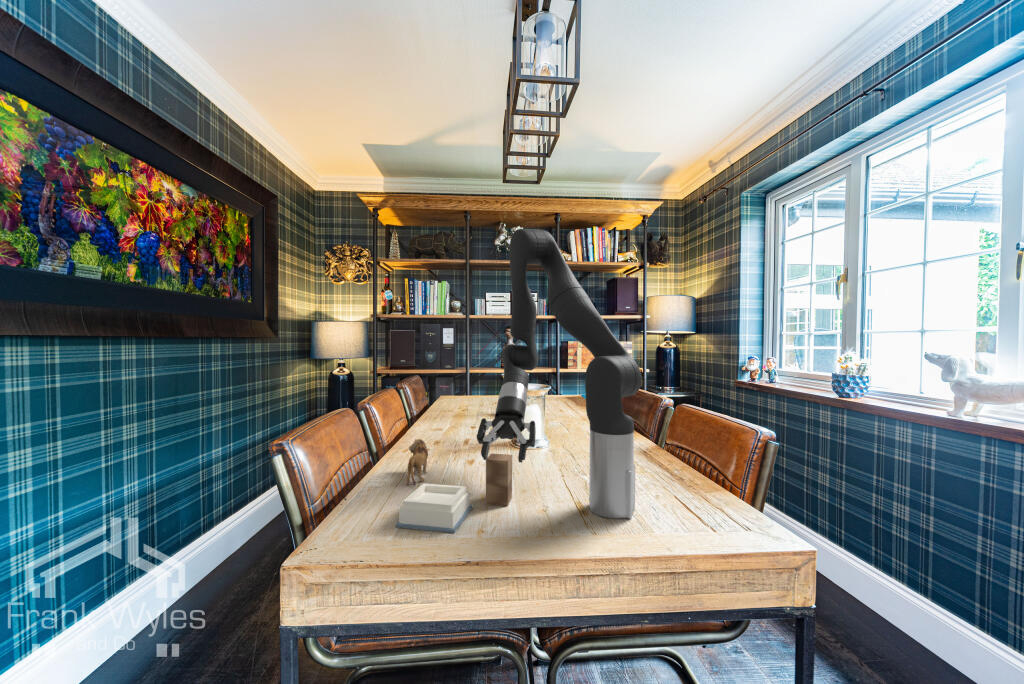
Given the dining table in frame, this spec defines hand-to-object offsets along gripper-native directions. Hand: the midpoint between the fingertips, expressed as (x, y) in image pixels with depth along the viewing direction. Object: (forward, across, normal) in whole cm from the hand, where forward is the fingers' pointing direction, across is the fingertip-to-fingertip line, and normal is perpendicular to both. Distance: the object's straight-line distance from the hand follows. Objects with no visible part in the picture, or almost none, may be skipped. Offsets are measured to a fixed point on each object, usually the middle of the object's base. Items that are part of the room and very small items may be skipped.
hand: (502, 459), depth 96 cm
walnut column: (+8, 0, +4) cm, 9 cm away
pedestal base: (+16, -11, -4) cm, 20 cm away
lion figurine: (+1, -25, +12) cm, 28 cm away
